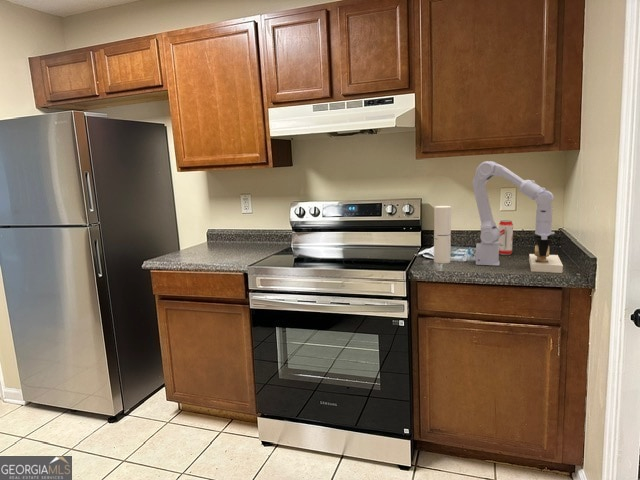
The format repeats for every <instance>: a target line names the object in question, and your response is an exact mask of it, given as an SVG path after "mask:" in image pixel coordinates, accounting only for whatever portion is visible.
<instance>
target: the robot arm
mask: <svg viewBox="0 0 640 480" xmlns="http://www.w3.org/2000/svg"><path fill="white" fill-rule="evenodd" d="M492 177H502V178H504V179H505V180H507V181H509V182H510V183H512V184H513V185H515V186H517V187H518V189H519V192H520V193H521V194H523V195H525V196H527V197H528V198H529V199H531V200H533V201H535V203H536V210H535V211H536V213H535V231H534V238H535V241H536V243H537V244H536V245H538V247H539V254H540V256H546V253H547V249H548V246H549V247H550V244H551V242H552V238H551V235H555V231H552V228H553V227H552V224H553V202H554V199H555V197H554V194H553V193H552V192H551V191H550V190H548V189H547V190H546V188H545V187H541V186H540V185H538V183H536V180H534V179H532V180H530V179H523V178H522V177H521V176H519V175H518V174H516V173H514V172H513V171H512V170H510V169H508V168H507V167H506V166H504V165H501V164H499V163H497V162H495V161H493V160H489V161H482V162H481V163H480V164H479V165H478V166H477V167H476V168H475V174H474V176H473V179H472V187H473V188H472V189H473V193H474V194H473V195H474V197H475V202H476V207H477V210H478V214H479V219H480V236H479V237H480V241H481V242H479V243H478V242H477V243H476V245H475V246H476V247H475V257H474V258H475V259H474V260H475V265H476V266H477V265H480V266H481V265H482V266H500V260H499V259H500V258H499V257H500V254H499V242H498V239H499V237H500V231H499V227H497V223H496V222H495V221H494V220H495V219H494V217H493V212H492V208H491V203H490V200H489V195H488V190H487V187H486V184H487V183H488V182H489V181H490V179H491V178H492Z"/></svg>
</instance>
